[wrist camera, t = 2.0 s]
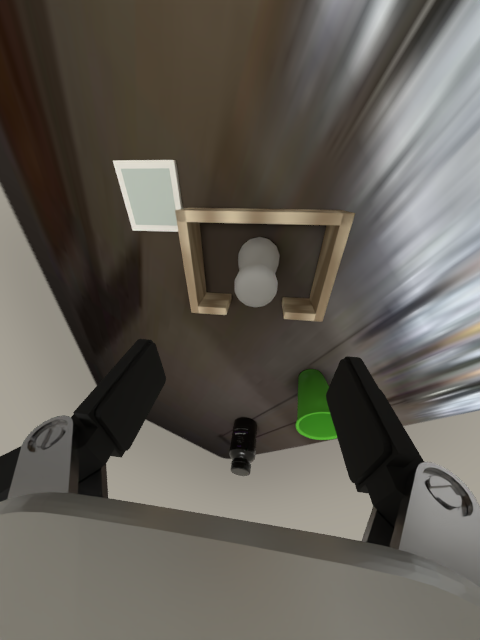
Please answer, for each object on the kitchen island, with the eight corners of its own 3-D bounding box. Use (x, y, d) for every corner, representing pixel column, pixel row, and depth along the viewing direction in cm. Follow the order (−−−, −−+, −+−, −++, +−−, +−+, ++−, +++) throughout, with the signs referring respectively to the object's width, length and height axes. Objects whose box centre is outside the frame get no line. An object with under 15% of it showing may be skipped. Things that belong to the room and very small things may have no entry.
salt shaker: (254, 280, 31) (248, 326, 20) (232, 251, 29) (212, 285, 18) (286, 258, 28) (298, 297, 18) (264, 225, 26) (263, 246, 15)
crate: (340, 209, 24) (355, 213, 20) (315, 305, 32) (322, 321, 28) (189, 207, 26) (174, 210, 22) (200, 298, 34) (191, 312, 30)
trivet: (176, 160, 23) (173, 159, 23) (185, 231, 28) (184, 231, 27) (115, 161, 24) (112, 160, 24) (135, 229, 29) (132, 230, 28)
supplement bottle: (242, 413, 53) (237, 464, 43) (261, 423, 55) (260, 474, 45) (229, 422, 57) (221, 471, 47) (247, 431, 58) (243, 479, 49)
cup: (337, 383, 42) (357, 436, 33) (298, 393, 45) (306, 442, 36) (324, 357, 38) (342, 408, 29) (282, 369, 41) (287, 418, 32)
